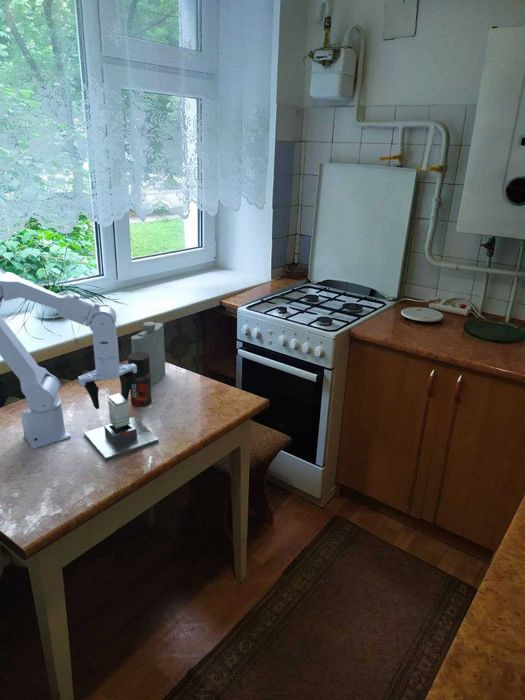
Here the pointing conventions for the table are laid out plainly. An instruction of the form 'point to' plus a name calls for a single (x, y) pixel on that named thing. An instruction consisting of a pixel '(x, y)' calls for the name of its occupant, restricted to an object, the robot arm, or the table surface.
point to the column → (118, 410)
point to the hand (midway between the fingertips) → (110, 403)
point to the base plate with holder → (120, 439)
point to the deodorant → (140, 380)
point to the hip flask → (152, 348)
